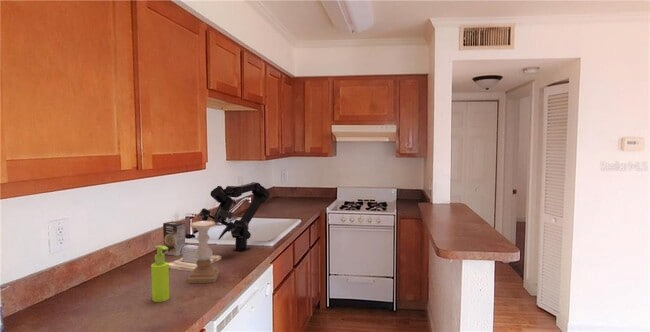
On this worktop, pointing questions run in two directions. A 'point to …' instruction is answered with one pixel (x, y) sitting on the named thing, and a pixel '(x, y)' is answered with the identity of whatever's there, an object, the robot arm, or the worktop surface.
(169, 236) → the coffee box
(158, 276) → the soap dispenser
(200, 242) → the candle holder
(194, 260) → the medicine box
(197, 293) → the worktop surface
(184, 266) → the pocket board
